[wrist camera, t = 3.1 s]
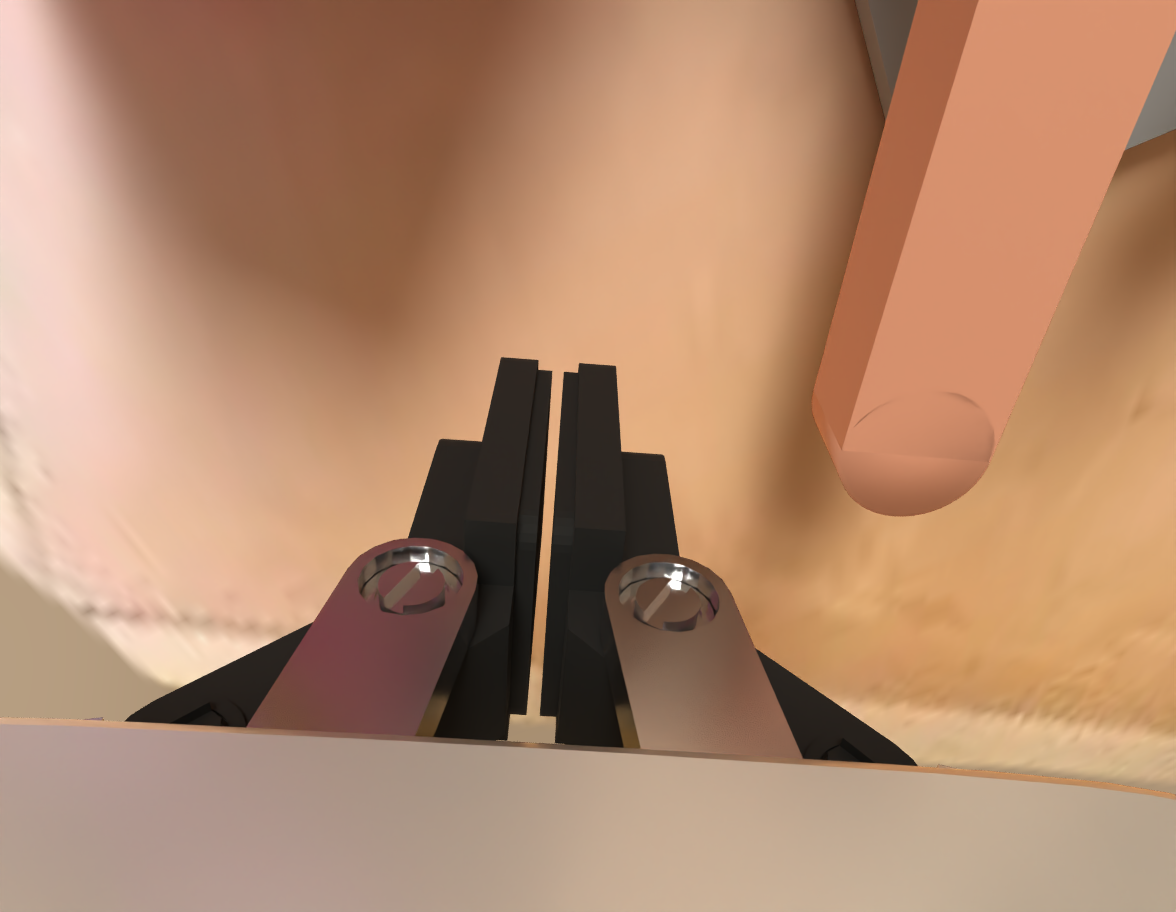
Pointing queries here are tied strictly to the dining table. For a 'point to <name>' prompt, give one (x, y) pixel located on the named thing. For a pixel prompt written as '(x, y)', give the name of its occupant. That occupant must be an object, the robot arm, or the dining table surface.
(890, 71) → the board
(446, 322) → the dining table surface
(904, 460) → the latch arm
